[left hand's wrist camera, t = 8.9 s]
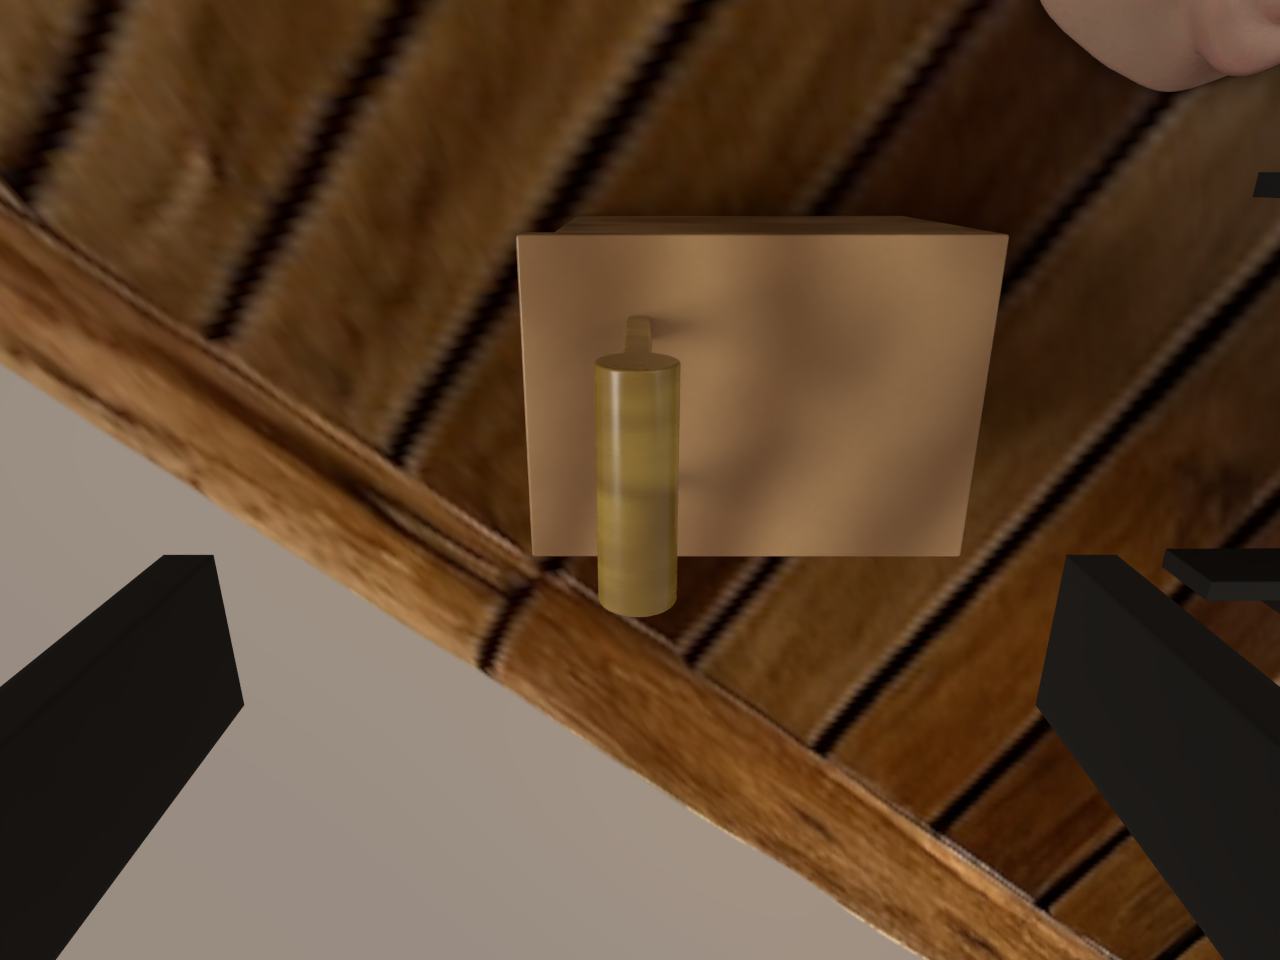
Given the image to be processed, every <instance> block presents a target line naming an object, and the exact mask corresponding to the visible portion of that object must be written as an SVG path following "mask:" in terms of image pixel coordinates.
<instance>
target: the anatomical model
mask: <svg viewBox="0 0 1280 960" xmlns="http://www.w3.org/2000/svg"><path fill="white" fill-rule="evenodd" d="M1040 1H1041V3H1042V5H1043V7H1044V8H1045V10H1046V11H1047V13H1048V14H1049V16H1050V17H1051V18H1052V19H1053V20H1054V21H1055V22H1056V23H1057V24H1058V26H1059V27H1060V28H1061V29H1062V30H1063V31H1064V32H1065V33H1066V34H1067V35H1069V36H1070V37H1071V38H1072V39H1073V40H1075V41H1076V42H1077V43H1078V44H1079V45H1080V46H1082V47H1083V48H1084V49H1085V50H1086V51H1088V52H1089V53H1090V54H1091V55H1092V56H1094V57H1095V58H1096V59H1097V60H1099V61H1100V62H1101V63H1103V64H1104V65H1106V66H1107V67H1108V68H1110V69H1112V70H1114V71H1116V72H1118V73H1119V74H1121V75H1123V76H1125V77H1127V78H1129V79H1130V80H1132V81H1134V82H1136V83H1138V84H1140V85H1142V86H1144V87H1147V88H1150V89H1153V90H1156V91H1164V92H1174V91H1182V90H1186V89H1190V88H1194V87H1197V86H1201V85H1203V84H1206V83H1209V82H1212V81H1214V80H1217V79H1220V78H1223V77H1225V76H1228V75H1230V76H1249V75H1253V74H1256V73H1259V72H1262V71H1264V70H1267V69H1269V68H1272V67H1274V66H1276V65H1278V64H1280V0H1040Z"/></svg>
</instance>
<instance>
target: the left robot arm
mask: <svg viewBox="0 0 1280 960" xmlns="http://www.w3.org/2000/svg"><path fill="white" fill-rule="evenodd" d="M243 706H244V701H243V697H242V692H241V687H240V682H239V677H238V672H237V668H236V662H235V658H234V653H233V648H232V643H231V638H230V633H229V628H228V624H227V619H226V614H225V609H224V604H223V599H222V594H221V589H220V585H219V580H218V575H217V570H216V565H215V560H214V556H213V555H163V556H162V557H161V558H159V559H158V560H157V561H156V562H154V563H153V564H152V565H151V566H149V567H148V568H147V569H146V570H144V571H143V572H142V573H141V574H139V575H138V576H137V577H136V578H135V579H133V580H132V581H131V582H130V583H128V584H127V585H126V586H125V587H123V588H122V589H121V590H120V591H118V592H117V593H116V594H115V595H113V596H112V597H111V598H110V599H109V600H107V601H106V602H105V603H104V604H102V605H101V606H100V607H99V608H97V609H96V610H95V611H94V612H92V613H91V614H90V615H89V616H87V617H86V618H85V619H84V620H83V621H81V622H80V623H79V624H78V625H76V626H75V627H74V628H73V629H71V630H70V631H69V632H68V633H66V634H65V635H64V636H63V637H62V638H60V639H59V640H58V641H57V642H55V643H54V644H53V645H52V646H50V647H49V648H48V649H47V650H45V651H44V652H43V653H42V654H40V655H39V656H38V657H37V658H36V659H34V660H33V661H32V662H31V663H29V664H28V665H27V666H26V667H24V668H23V669H22V670H21V671H19V672H18V673H17V674H16V675H14V676H13V677H12V678H11V679H9V680H8V681H7V682H6V683H5V684H3V685H2V686H1V687H0V960H56V959H57V957H58V956H59V955H60V953H61V952H62V951H63V949H64V948H65V947H66V945H67V944H68V942H69V941H70V940H71V938H72V937H73V936H74V934H75V933H76V932H77V930H78V929H79V928H80V926H81V925H82V924H83V922H84V921H85V919H86V918H87V917H88V915H89V914H90V913H91V911H92V910H93V909H94V907H95V906H96V905H97V903H98V902H99V901H100V899H101V898H102V897H103V895H104V894H105V892H106V891H107V890H108V888H109V887H110V886H111V884H112V883H113V882H114V880H115V879H116V878H117V876H118V875H119V874H120V872H121V871H122V870H123V868H124V867H125V865H126V864H127V863H128V861H129V860H130V859H131V857H132V856H133V855H134V853H135V852H136V851H137V849H138V848H139V847H140V845H141V844H142V842H143V841H144V840H145V838H146V837H147V836H148V834H149V833H150V832H151V830H152V829H153V828H154V826H155V825H156V824H157V822H158V821H159V820H160V818H161V817H162V815H163V814H164V813H165V811H166V810H167V809H168V807H169V806H170V805H171V803H172V802H173V801H174V799H175V798H176V797H177V795H178V794H179V792H180V791H181V790H182V788H183V787H184V786H185V784H186V783H187V782H188V780H189V779H190V778H191V776H192V775H193V774H194V772H195V771H196V770H197V768H198V767H199V765H200V764H201V763H202V761H203V760H204V759H205V757H206V756H207V755H208V753H209V752H210V751H211V749H212V748H213V747H214V745H215V744H216V742H217V741H218V740H219V738H220V737H221V736H222V734H223V733H224V732H225V730H226V729H227V728H228V726H229V725H230V724H231V722H232V721H233V719H234V718H235V717H236V715H237V714H238V713H239V711H240V710H241V709H242V707H243ZM1036 706H1037V707H1038V709H1039V710H1040V711H1041V713H1042V714H1043V715H1044V717H1045V718H1046V720H1047V721H1048V722H1049V724H1050V725H1051V726H1052V728H1053V729H1054V730H1055V732H1056V733H1057V734H1058V736H1059V737H1060V738H1061V740H1062V741H1063V742H1064V744H1065V745H1066V747H1067V748H1068V749H1069V751H1070V752H1071V753H1072V755H1073V756H1074V757H1075V759H1076V760H1077V761H1078V763H1079V764H1080V765H1081V767H1082V768H1083V770H1084V771H1085V772H1086V774H1087V775H1088V776H1089V778H1090V779H1091V780H1092V782H1093V783H1094V784H1095V786H1096V787H1097V788H1098V790H1099V791H1100V792H1101V794H1102V795H1103V797H1104V798H1105V799H1106V801H1107V802H1108V803H1109V805H1110V806H1111V807H1112V809H1113V810H1114V811H1115V813H1116V814H1117V815H1118V817H1119V818H1120V820H1121V821H1122V822H1123V824H1124V825H1125V826H1126V828H1127V829H1128V830H1129V832H1130V833H1131V834H1132V836H1133V837H1134V838H1135V840H1136V841H1137V842H1138V844H1139V845H1140V847H1141V848H1142V849H1143V851H1144V852H1145V853H1146V855H1147V856H1148V857H1149V859H1150V860H1151V861H1152V863H1153V864H1154V865H1155V867H1156V868H1157V870H1158V871H1159V872H1160V874H1161V875H1162V876H1163V878H1164V879H1165V880H1166V882H1167V883H1168V884H1169V886H1170V887H1171V888H1172V890H1173V891H1174V892H1175V894H1176V895H1177V897H1178V898H1179V899H1180V901H1181V902H1182V903H1183V905H1184V906H1185V907H1186V909H1187V910H1188V911H1189V913H1190V914H1191V915H1192V917H1193V918H1194V920H1195V921H1196V922H1197V924H1198V925H1199V926H1200V928H1201V929H1202V930H1203V932H1204V933H1205V934H1206V936H1207V937H1208V938H1209V940H1210V941H1211V942H1212V944H1213V945H1214V947H1215V948H1216V949H1217V951H1218V952H1219V953H1220V955H1221V956H1222V957H1223V959H1224V960H1280V687H1279V686H1278V685H1277V684H1275V683H1274V682H1273V681H1272V680H1271V679H1269V678H1268V677H1267V676H1266V675H1264V674H1263V673H1262V672H1261V671H1259V670H1258V669H1257V668H1256V667H1254V666H1253V665H1252V664H1251V663H1249V662H1248V661H1247V660H1246V659H1245V658H1243V657H1242V656H1241V655H1240V654H1238V653H1237V652H1236V651H1235V650H1233V649H1232V648H1231V647H1230V646H1228V645H1227V644H1226V643H1225V642H1223V641H1222V640H1221V639H1220V638H1219V637H1217V636H1216V635H1215V634H1214V633H1212V632H1211V631H1210V630H1209V629H1207V628H1206V627H1205V626H1204V625H1202V624H1201V623H1200V622H1199V621H1197V620H1196V619H1195V618H1194V617H1193V616H1191V615H1190V614H1189V613H1188V612H1186V611H1185V610H1184V609H1183V608H1181V607H1180V606H1179V605H1178V604H1176V603H1175V602H1174V601H1173V600H1171V599H1170V598H1169V597H1168V596H1167V595H1165V594H1164V593H1163V592H1162V591H1160V590H1159V589H1158V588H1157V587H1155V586H1154V585H1153V584H1152V583H1150V582H1149V581H1148V580H1147V579H1145V578H1144V577H1143V576H1142V575H1141V574H1139V573H1138V572H1137V571H1136V570H1134V569H1133V568H1132V567H1131V566H1129V565H1128V564H1127V563H1126V562H1124V561H1123V560H1122V559H1121V558H1119V557H1118V556H1117V555H1066V560H1065V565H1064V570H1063V575H1062V580H1061V584H1060V589H1059V594H1058V599H1057V604H1056V609H1055V614H1054V619H1053V623H1052V628H1051V633H1050V638H1049V643H1048V648H1047V653H1046V658H1045V662H1044V667H1043V672H1042V677H1041V682H1040V687H1039V692H1038V697H1037V701H1036Z"/></svg>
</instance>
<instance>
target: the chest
mask: <svg viewBox="0 0 1280 960" xmlns="http://www.w3.org/2000/svg"><path fill="white" fill-rule="evenodd" d="M555 233H995V232H991V231H985V230H980V229H974V228H968V227H962V226H957V225H951V224H945V223H940V222H934V221H928V220H922V219H917V218H911V217H905V216H577V217H576V218H574V219H573V220H571V221H570V222H568V223H567V224H566V225H564V226H563V227H562V228H560V229H559V230H557V231H556V232H555Z"/></svg>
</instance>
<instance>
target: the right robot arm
mask: <svg viewBox="0 0 1280 960" xmlns="http://www.w3.org/2000/svg"><path fill="white" fill-rule="evenodd" d="M1253 197H1270V198H1280V172H1259V174H1258V178H1257V182H1256V186H1255V190H1254V195H1253ZM1162 567H1163V568H1165V569H1166V570H1167V571H1169V572H1170V573H1171V574H1173V575H1174V576H1175V577H1177V578H1178V579H1179V580H1181V581H1182V582H1183V583H1184V584H1186V585H1187V586H1188V587H1190V588H1191V589H1192V590H1194V591H1195V592H1196V593H1198V594H1199V595H1200V596H1202V597H1203V598H1204V599H1206V600H1207V601H1233V600H1261V601H1262V602H1264V603H1265V604H1267V605H1268V606H1269V607H1271V608H1272V609H1274V610H1275V611H1277V612H1278V613H1280V548H1262V549H1166V552H1165V556H1164V560H1163V564H1162Z"/></svg>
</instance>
